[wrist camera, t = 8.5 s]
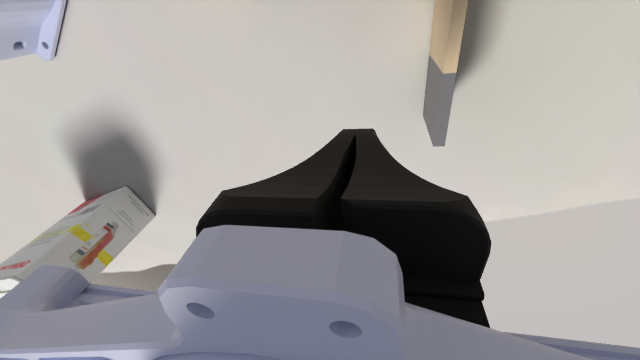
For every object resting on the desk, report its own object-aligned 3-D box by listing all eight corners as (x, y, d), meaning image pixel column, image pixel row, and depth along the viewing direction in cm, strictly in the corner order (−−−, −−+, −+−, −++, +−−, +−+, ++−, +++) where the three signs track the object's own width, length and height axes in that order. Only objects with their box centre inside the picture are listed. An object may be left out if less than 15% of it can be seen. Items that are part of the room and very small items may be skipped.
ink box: (114, 228, 35) (17, 316, 26) (83, 200, 33) (-36, 286, 23) (158, 216, 32) (66, 312, 23) (128, 184, 30) (11, 276, 20)
